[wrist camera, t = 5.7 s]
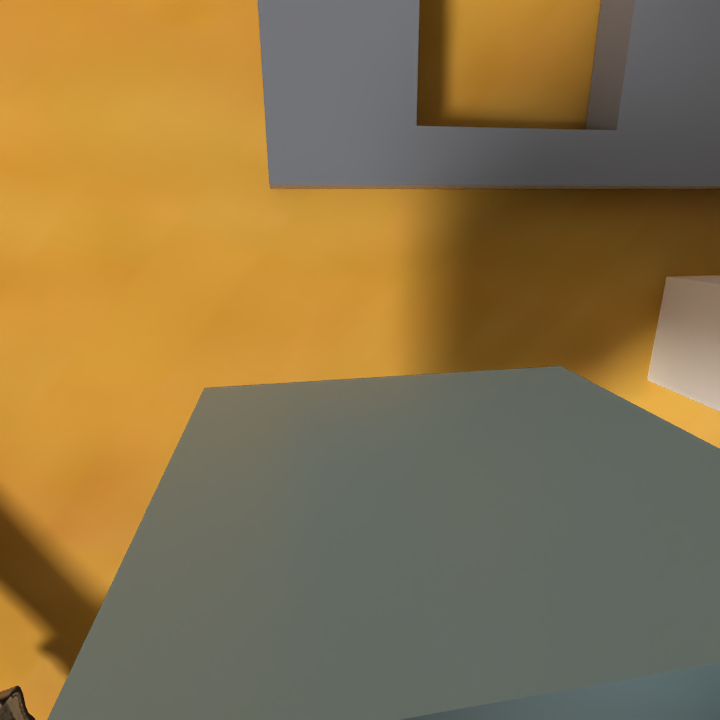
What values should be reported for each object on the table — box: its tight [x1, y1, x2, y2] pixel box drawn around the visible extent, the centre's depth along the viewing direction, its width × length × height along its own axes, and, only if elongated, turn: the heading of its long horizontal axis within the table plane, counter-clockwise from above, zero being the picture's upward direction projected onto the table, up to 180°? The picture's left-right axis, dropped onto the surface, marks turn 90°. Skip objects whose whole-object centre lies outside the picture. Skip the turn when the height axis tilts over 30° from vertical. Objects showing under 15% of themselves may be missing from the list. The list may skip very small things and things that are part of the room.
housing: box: [48, 366, 720, 720], centre depth 6 cm, size 7×7×6 cm
